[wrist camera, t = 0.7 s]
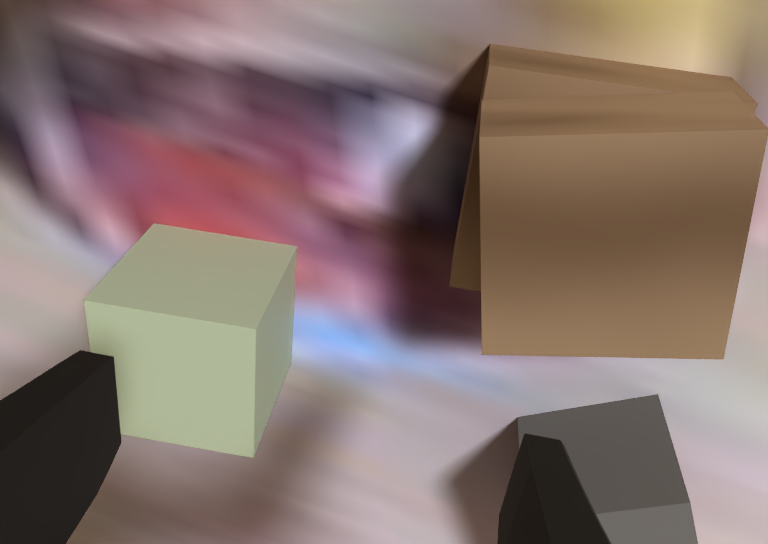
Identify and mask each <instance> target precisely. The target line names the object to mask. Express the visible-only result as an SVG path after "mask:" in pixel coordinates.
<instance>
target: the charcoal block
mask: <svg viewBox="0 0 768 544" xmlns="http://www.w3.org/2000/svg"><path fill="white" fill-rule="evenodd" d="M524 433H526V434H531V435H537V436H542V437H548V438H553V439H558V440H561V442H562V443H563V444H564V446H565V448H566V450H567V453H568V455H569V457H570V460H571V462H572V464H573V467H574V469H575V471H576V473H577V475H578V478H579V480H580V482H581V484H582V486H583V489H584V491H585V493H586V495H587V497H588V499H589V501H590V503H591V505H592V507H593V509H594V511H595V513H596V515H597V517H598V519H599V521H600V523H601V525H602V527H603V529H604V531H605V532H606V534H607V536H608V538H609V540H610V542H611V544H698V541H697V536H696V531H695V526H694V520H693V515H692V510H691V504H690V500H689V497H688V494H687V490H686V487H685V484H684V480H683V477H682V474H681V470H680V467H679V464H678V460H677V457H676V453H675V450H674V447H673V443H672V440H671V437H670V433H669V430H668V427H667V423H666V420H665V417H664V413H663V410H662V407H661V403H660V400H659V397H658V394H657V395H651V396H645V397H639V398H633V399H626V400H620V401H614V402H608V403H602V404H596V405H589V406H583V407H577V408H571V409H565V410H559V411H552V412H546V413H540V414H534V415H528V416H522V417H518V439H519V449H520V446H521V442H522V439H523V436H524Z"/></svg>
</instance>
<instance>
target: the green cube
mask: <svg viewBox="0 0 768 544" xmlns="http://www.w3.org/2000/svg"><path fill="white" fill-rule="evenodd" d="M296 262H297V246H292V245H285V244H279V243H273V242H267V241H261V240H254V239H248V238H242V237H236V236H229V235H223V234H217V233H211V232H205V231H198V230H192V229H186V228H180V227H174V226H167V225H161V224H155V223H154V224H153V225H152V226H151V227H150V228H149V229H148V230H147V231H146V233H145V234H144V235H143V236H142V237H141V238H140V239H139V240H138V241H137V242H136V243H135V245H134V246H133V247H132V248H131V249H130V250H129V251H128V252H127V253H126V254H125V256H124V257H123V258H122V259H121V260H120V261H119V262H118V263H117V264H116V265H115V267H114V268H113V269H112V270H111V271H110V272H109V273H108V274H107V275H106V276H105V278H104V279H103V280H102V281H101V282H100V283H99V284H98V285H97V286H96V287H95V289H94V290H93V291H92V292H91V293H90V294H89V295H88V296H87V297H86V298H85V300H84V306H85V314H86V322H87V329H88V337H89V345H90V352H92V353H97V354H102V355H108V356H113V357H114V364H115V375H116V387H117V398H118V409H119V421H120V432H121V434H122V435H128V436H134V437H139V438H145V439H150V440H156V441H162V442H167V443H173V444H178V445H184V446H190V447H195V448H201V449H206V450H212V451H217V452H223V453H229V454H234V455H240V456H245V457H251V458H254V456H255V453H256V451H257V448H258V445H259V443H260V440H261V438H262V435H263V433H264V430H265V428H266V425H267V423H268V420H269V418H270V415H271V413H272V410H273V408H274V405H275V403H276V400H277V397H278V395H279V392H280V390H281V387H282V385H283V382H284V380H285V377H286V375H287V372H288V370H289V367H290V365H291V357H292V338H293V319H294V300H295V281H296Z"/></svg>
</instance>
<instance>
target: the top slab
mask: <svg viewBox="0 0 768 544" xmlns="http://www.w3.org/2000/svg"><path fill="white" fill-rule="evenodd" d="M767 136H768V128H767V127H766V126H765V125H764V124H763V123H762V122H761V121H760V120H759V118H758V117H757V116H756V115H755V114H754V113H753V112H752V111H751V110H750V109H749V108H748V107H747V106H746V105H745V104H744V102H743V101H742V100H741V99H740V98H739V97H738V96H737V95H736V94H735V93H734V92H733V91H721V92H692V93H663V94H635V95H606V96H578V97H549V98H520V99H492V100H482V104H481V119H480V134H479V153H480V238H481V322H482V355H527V356H577V357H628V358H679V359H724V353H725V348H726V343H727V338H728V333H729V328H730V323H731V318H732V313H733V308H734V303H735V298H736V293H737V288H738V283H739V278H740V273H741V268H742V263H743V257H744V252H745V247H746V242H747V237H748V232H749V227H750V222H751V217H752V212H753V207H754V202H755V197H756V192H757V187H758V182H759V177H760V172H761V167H762V161H763V156H764V151H765V146H766V141H767Z"/></svg>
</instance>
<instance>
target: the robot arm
mask: <svg viewBox="0 0 768 544" xmlns="http://www.w3.org/2000/svg"><path fill="white" fill-rule="evenodd" d="M120 444H121V432H120V421H119V409H118V398H117V387H116V375H115V364H114V357H113V356H108V355H102V354H97V353H92V352H86V351H81V350H80V351H79V352H77V353H75V354H74V355H72V356H70V357H69V358H67V359H65V360H64V361H62V362H60V363H59V364H57V365H56V366H54V367H53V368H51V369H49V370H48V371H46V372H45V373H43V374H42V375H40V376H38V377H37V378H35V379H34V380H32V381H31V382H29V383H27V384H26V385H24V386H23V387H21V388H20V389H18V390H16V391H15V392H13V393H12V394H10V395H8V396H7V397H5V398H4V399H2V400H0V544H66V542H67V541H68V539H69V538H70V536H71V534H72V533H73V531H74V530H75V528H76V527H77V525H78V523H79V522H80V520H81V519H82V517H83V516H84V514H85V512H86V511H87V509H88V508H89V506H90V504H91V503H92V501H93V500H94V498H95V496H96V495H97V493H98V491H99V489H100V487H101V485H102V483H103V481H104V479H105V477H106V475H107V473H108V471H109V468H110V466H111V464H112V462H113V460H114V457H115V455H116V453H117V451H118V449H119V447H120ZM498 544H611V542H610V540H609V538H608V536H607V534H606V532H605V531H604V529H603V527H602V525H601V523H600V521H599V519H598V517H597V515H596V513H595V511H594V509H593V507H592V505H591V503H590V501H589V499H588V497H587V495H586V493H585V491H584V489H583V486H582V484H581V482H580V480H579V478H578V475H577V473H576V471H575V469H574V467H573V464H572V462H571V460H570V457H569V455H568V453H567V450H566V448H565V446H564V444H563V443H562V442H561V440H558V439H553V438H548V437H542V436H537V435H531V434H526V433H524V436H523V439H522V442H521V446H520V449H519V452H518V456H517V459H516V462H515V465H514V469H513V472H512V475H511V478H510V482H509V485H508V488H507V492H506V495H505V498H504V501H503V505H502V508H501V511H500V514H499V528H498Z"/></svg>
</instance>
